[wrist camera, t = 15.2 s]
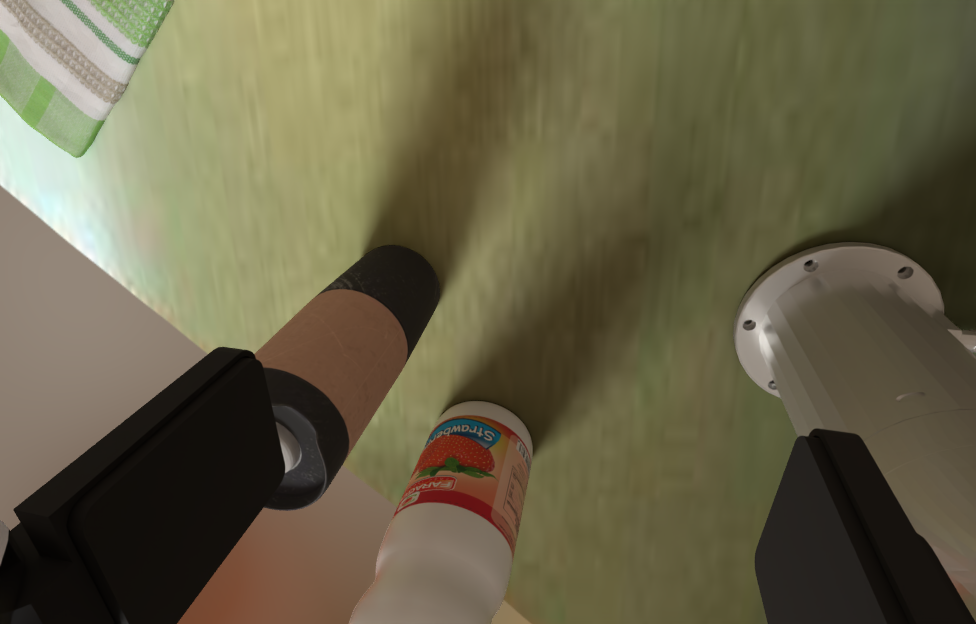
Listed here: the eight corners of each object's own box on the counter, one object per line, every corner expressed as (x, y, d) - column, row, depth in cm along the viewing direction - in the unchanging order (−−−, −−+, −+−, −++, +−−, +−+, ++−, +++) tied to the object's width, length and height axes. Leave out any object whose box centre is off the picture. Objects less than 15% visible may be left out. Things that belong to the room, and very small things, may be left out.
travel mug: (359, 321, 46) (208, 500, 29) (348, 237, 43) (168, 385, 25) (445, 330, 45) (339, 524, 28) (441, 245, 41) (317, 406, 24)
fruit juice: (476, 488, 53) (359, 880, 29) (415, 422, 50) (231, 789, 26) (555, 455, 49) (495, 879, 25) (492, 381, 46) (359, 771, 22)
